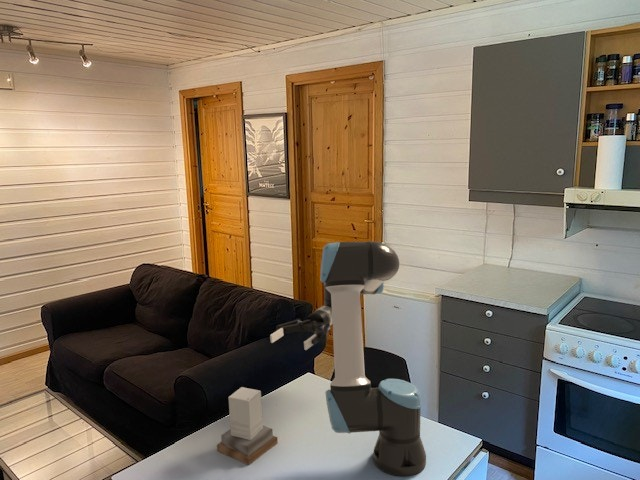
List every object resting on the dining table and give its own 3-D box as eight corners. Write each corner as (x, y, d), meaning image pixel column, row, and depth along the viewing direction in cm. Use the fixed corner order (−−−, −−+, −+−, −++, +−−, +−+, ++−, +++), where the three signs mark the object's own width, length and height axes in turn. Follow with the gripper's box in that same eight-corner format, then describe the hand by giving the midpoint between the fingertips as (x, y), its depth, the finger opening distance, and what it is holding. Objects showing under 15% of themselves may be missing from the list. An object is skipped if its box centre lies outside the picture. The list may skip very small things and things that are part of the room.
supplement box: (263, 428, 150) (261, 390, 148) (250, 441, 144) (248, 401, 142) (243, 423, 153) (241, 386, 151) (229, 435, 147) (227, 396, 145)
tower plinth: (277, 443, 151) (277, 428, 150) (249, 465, 140) (248, 449, 140) (246, 430, 158) (246, 416, 157) (217, 450, 148) (216, 435, 147)
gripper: (351, 334, 171) (320, 360, 154) (293, 323, 184) (258, 346, 167) (350, 314, 170) (319, 338, 152) (292, 305, 183) (256, 326, 165)
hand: (287, 342), depth 159 cm, fingers open, 13 cm apart
